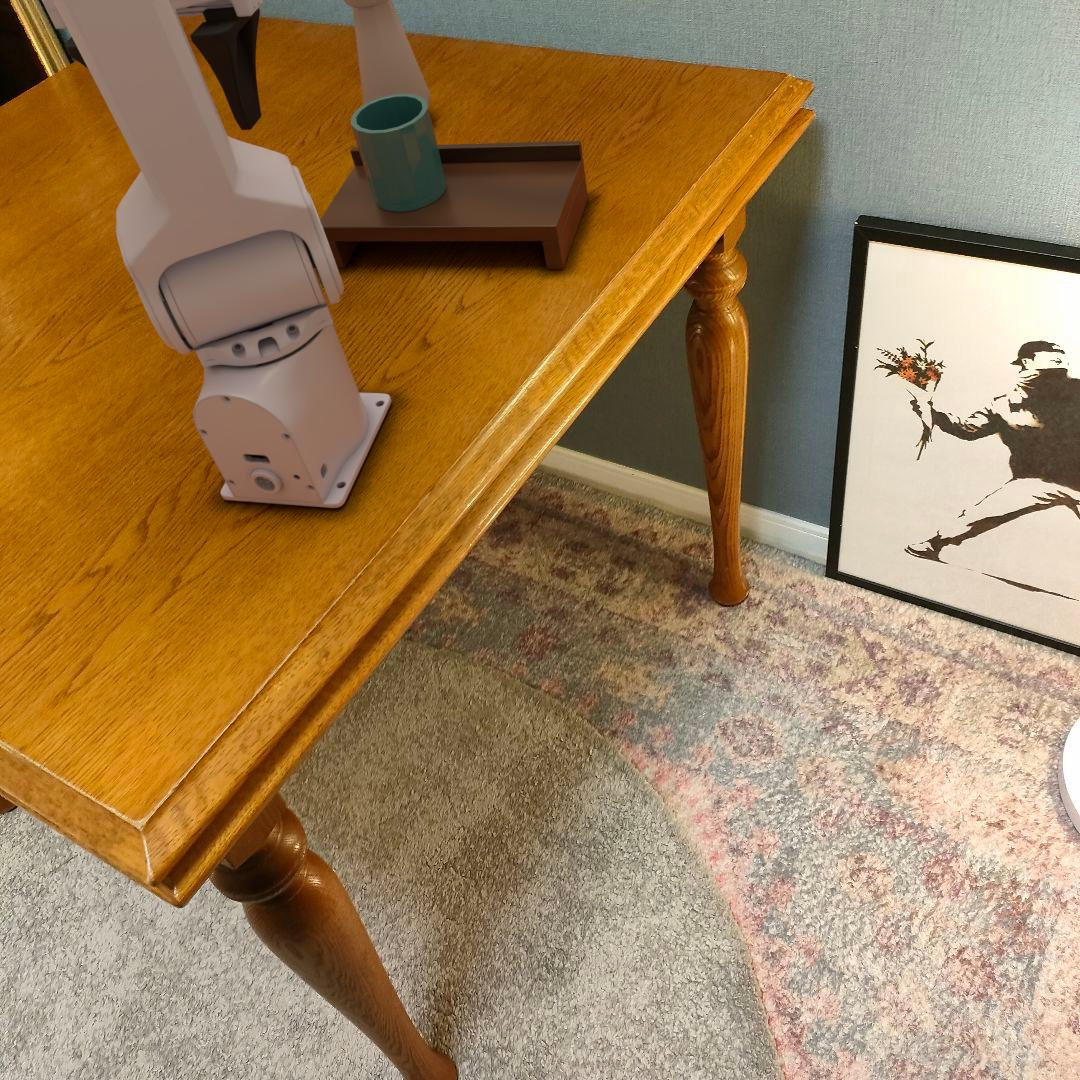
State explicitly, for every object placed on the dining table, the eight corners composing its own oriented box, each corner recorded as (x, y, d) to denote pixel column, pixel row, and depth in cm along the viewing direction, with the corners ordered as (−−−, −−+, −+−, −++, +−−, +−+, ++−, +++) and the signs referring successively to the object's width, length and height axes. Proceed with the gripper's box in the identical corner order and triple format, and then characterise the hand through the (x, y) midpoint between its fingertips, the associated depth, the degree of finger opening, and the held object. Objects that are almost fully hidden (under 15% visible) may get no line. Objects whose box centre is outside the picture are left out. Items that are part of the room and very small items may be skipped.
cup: (434, 212, 71) (413, 131, 66) (364, 212, 72) (339, 133, 68) (455, 171, 74) (437, 92, 70) (388, 172, 76) (366, 95, 71)
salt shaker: (425, 142, 85) (385, -21, 75) (363, 144, 87) (315, -15, 77) (443, 108, 89) (406, -52, 79) (383, 111, 90) (340, -45, 80)
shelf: (563, 270, 70) (553, 210, 66) (329, 268, 75) (309, 212, 71) (588, 199, 75) (581, 140, 72) (369, 201, 80) (352, 146, 77)
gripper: (246, -129, 60) (317, 92, 70) (45, -107, 64) (141, 100, 74) (195, -85, 56) (279, 144, 66) (-17, -64, 60) (93, 149, 70)
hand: (203, 124), depth 70 cm, fingers open, 7 cm apart
